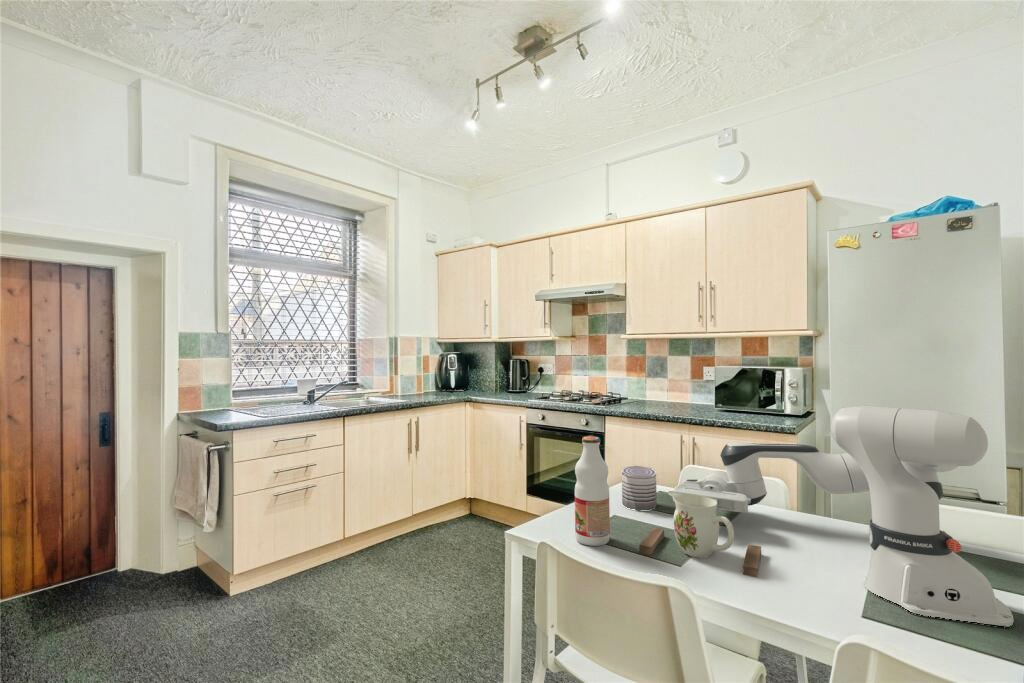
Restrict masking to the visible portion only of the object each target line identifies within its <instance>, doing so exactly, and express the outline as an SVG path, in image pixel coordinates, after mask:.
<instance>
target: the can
mask: <svg viewBox="0 0 1024 683" xmlns="http://www.w3.org/2000/svg"><path fill="white" fill-rule="evenodd" d="M620 472H621V489H622V490H621V492H622V494H621V498H622V502H621V503H622V504H623V505H624V506H625V507H627V508H630V509H635V510H650V509H654V508H655V507H656V505H657V503H658V502H657V498H658V497H657V473H658V471H657V470H654V469H653V468H651V467H648V466H641V465H632V466H625V467H623V468H622V469H621V470H620ZM622 504H621V505H622ZM624 506H623V507H624ZM657 506H658V505H657ZM625 507H624V508H625ZM627 508H626V509H627ZM656 508H657V507H656ZM630 509H629V510H630Z"/></svg>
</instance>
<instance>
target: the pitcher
mask: <svg viewBox="0 0 1024 683" xmlns="http://www.w3.org/2000/svg"><path fill="white" fill-rule="evenodd" d="M667 494H668V495H669V496H670V497H671V499H672V500H673V499H674V501H675V502H674V504H675V509H674V514H673V520H672V521H673V522H672V523H673V524H672V525H673V531H674V532H673V533H674V536H675V539H676V542H677V544H678V546H679V548H680V550H681V551H682V552H683V553H684V554H685V553H686V554H688V555H690V556H689V557H691V558H696V559H697V558H699V559H704V558H705V559H706V558H710V556H711V555H712V554H713V553H714V552H715V551H717V552H723V551H727V550H728V549H729V548H731V547H732V546H733V544H734V541H735V530H734V526H733V524H732V522H731V521H730V519H728V517H726V516H723V515H717V513H716V512H717V510H716V508H717V502H716V501H715V500H713V499H711V498H708V497H705V496H701V495H696V494H688V493H681V492H675V491H673V490H669V491H667ZM719 522H722V523H723V524H725V526H726V529H727V532H728V537H727V541H726V542H725V543H723V544H721V545H720V544H718V540H719V536H720V523H719ZM686 554H685V555H686ZM688 555H687V556H688Z"/></svg>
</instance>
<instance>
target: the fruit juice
mask: <svg viewBox="0 0 1024 683" xmlns="http://www.w3.org/2000/svg"><path fill="white" fill-rule="evenodd" d="M581 442H582V446H583V447H582V448H583V449H582V452H581V455H580V457H579V459H578V460H577V462H576V463H575V467H574V473H575V477H576V483H575V485H574V522H575V523H574V525H575V528H574V529H575V530H574V532H575V533H574V534H575V540H576V541H577V542H578V543H579V544H581V545H584V546H589V547H590V546H592V547H597V546H598V547H599V546H604V545H607V544H608V543H609V542H610V539H611V530H610V528H611V524H610V522H611V521H610V518H611V517H610V513H611V512H610V488H609V484H608V476H609V467H608V464H607V462H606V461H605V460H604V459H603V457H602V453H601V450H600V444H601V438H600V437H598V436H593V435H592V436H582V439H581Z"/></svg>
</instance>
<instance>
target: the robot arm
mask: <svg viewBox="0 0 1024 683" xmlns="http://www.w3.org/2000/svg"><path fill="white" fill-rule="evenodd" d="M830 432H831V436H832V438H833V440H834V442H835V443H836V444H837V445H838V447H840V448H841V449H842V450H844V451H845V452H844V453H843V452H842V453H827V452H823V451H820V450H819V449H818V448H817V447H816V446H813V445H807V444H795V443H794V444H793V443H790V444H789V443H755V442H753V443H751V442H744V441H733V442H729V443H726V444H725V445H724V446H723V448H722V450H721V452H720V458H721V461H722V464H723V466H724V469H725V471H724V470H714V471H711V472H709V473H707V475H706V476H705V477H704V478H699V479H683V480H682V483H679V484H677V485H676V486H675V487H673V489H672V491H675V492H681V493H688V494H696V495H701V496H705V497H708V498H711V499H713V500H715V501H716V502H717V508H716V511H718V510H721V511H728V512H732V513H733V512H735V513H739V514H746V513H748V512H749V506H755V505H758V504H759V503H760V502H762V501H763V500H764V499H765V497H766V496H767V494H768V491H767V488H766V484H765V480H764V477H763V474H762V470H761V467H760V464H759V459H760V458H761V459H762V458H763V459H765V458H767V459H788V460H792V461H794V462H795V463H797V464H798V465H799V466H800V468H801V469H803V471H804V472H805V473H806V475H807V476H808V477H809V479H810V480H811V482H812V483H813V484H814V485H815V486H816V487H818V489H820V490H822V491H823V492H825V493H828V494H831V495H849V494H851V495H852V494H859V493H865V492H869V497H870V505H871V506H870V507H871V519H870V520H869V526H868V535H869V536H868V537H869V538H868V539H869V545H870V547H871V549H870V550H871V551H870V552H871V553H870V560H869V566H868V571H867V574H866V577H865V581H864V585H865V588H866V589H867V590H868V591H869V592H871V593H872V594H873V593H874V594H873V595H875V594H876V595H875V596H877V595H878V596H877V597H879V596H881V597H883V598H885V599H887V600H890V601H892V602H894V603H897V604H899V605H901V606H902V607H904V608H905V609H907V610H909V611H910V612H913V613H917V614H920V615H919V616H921V615H923V616H922V617H928V616H929V618H935V617H940V618H939V619H942V618H945V619H944V620H949V619H952V620H951V621H956V620H960V621H959V622H963V621H968V622H967V623H970V622H977V623H984V624H995V625H1006V626H1010V625H1012V624H1013V622H1014V623H1015V620H1014V616H1013V613H1012V611H1011V610H1010V609H1009V608H1008V606H1007V605H1006V604H1005V603H1003V602H1002V601H1001V600H1000V599H998V598H997V597H996V595H995V591H994V589H993V586H992V585H991V583H990V581H989V579H988V578H987V577H986V576H985V574H983V573H982V572H981V571H980V570H979V569H977V568H976V567H975V566H973V565H972V564H971V563H969V562H968V561H967V560H965V559H964V558H963V557H961V556H960V555H959V554H957V553H959V552H960V551H962V549H963V546H962V545H961V544H960V542H959V541H957V540H956V539H954V538H953V537H952V536H951V535H950V534H948V533H947V532H946V531H944V530H941V528H940V527H941V526H940V521H941V520H940V502H939V501H940V500H941V499H942V498H943V497H944V490H943V485H942V482H940V481H939V480H940V479H939V477H938V474H937V473H946V472H950V471H954V470H955V469H957V468H958V467H972V466H975V465H976V464H977V463H979V462H980V461H981V460H982V459H984V456H985V455H986V453H987V451H988V448H989V447H988V446H989V442H988V441H989V440H988V436H987V433H986V431H985V430H984V428H983V426H982V425H981V424H980V423H979V422H978V421H977V420H976V419H974V418H973V417H971V416H967V415H962V414H958V413H952V412H948V411H944V410H933V409H918V408H907V407H906V408H904V407H893V406H892V407H891V406H879V405H878V406H876V405H856V406H854V405H853V406H847V407H842V408H840V409H839V410H838V411H837V412H835V414H834V415H833V417H832V419H831V422H830ZM672 501H673V503H675V501H674V499H673V498H672ZM885 599H884V600H885ZM887 600H886V601H887ZM892 602H891V603H892ZM894 603H893V604H894ZM902 607H901V608H902ZM905 609H904V610H905ZM907 610H906V611H907ZM910 612H909V613H910ZM913 613H912V614H913ZM930 616H931V617H930ZM977 623H976V624H977ZM984 624H983V625H984Z"/></svg>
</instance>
